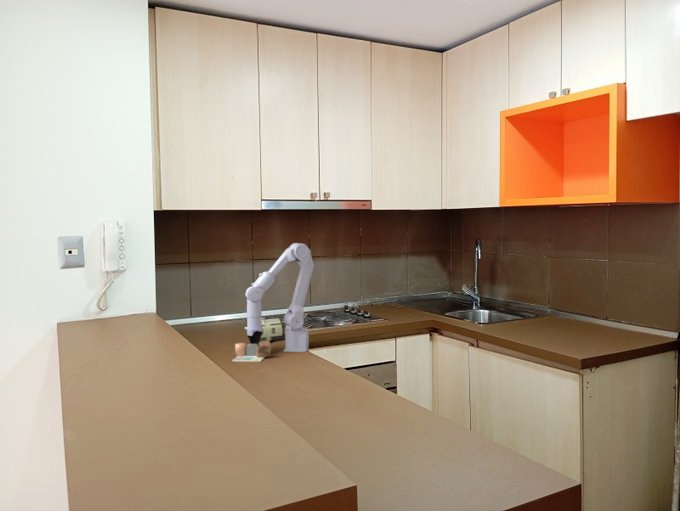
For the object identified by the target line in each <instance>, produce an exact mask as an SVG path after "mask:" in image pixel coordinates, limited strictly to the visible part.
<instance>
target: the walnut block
mask: <svg viewBox="0 0 680 511" xmlns="http://www.w3.org/2000/svg"><path fill="white" fill-rule="evenodd" d="M271 349H272V348H271V344H270V345H262V346H256V356H257V357H258V358H260V357H265V358H268V357H271V356H272V352H271Z"/></svg>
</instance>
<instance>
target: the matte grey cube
mask: <svg viewBox="0 0 680 511" xmlns="http://www.w3.org/2000/svg"><path fill="white" fill-rule="evenodd" d="M256 346H259V344H251V343H248V344H246V356H256Z"/></svg>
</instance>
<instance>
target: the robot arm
mask: <svg viewBox="0 0 680 511" xmlns="http://www.w3.org/2000/svg"><path fill="white" fill-rule="evenodd" d="M294 261H296V263H297V264H298V265H299V267H300V268H299V272H298V277H297V280H296V284H295V288H294V291H293V295H292V300H291V303H290V305H288V306H289V307H288V309H287V311H286V313H285V314H284V316H283V323H284V325H286V326H284V328H285V336H284V339H285V340H284V341H285V344H284V345H285V348H284V349H282V352H283V351H284V352H288V353H290V352H293V353H295V352H296V353H297V352H298V353H303V352H304V353H306V352H307V350H309V347H310V346H309V345H310V343H309V341H310V340H309V338H310V337H309V336H310V335H309V329H308V328H304V327H303V326H304V323H305V319H304V315H305V314H304V313H305V309H304V306H305V301H306V298H307V294H308V290H309V287H310V281H311V279H312V274H313V271H314V266H315V265H314V261H313V258H312V251H311V249H310V248H309V247H308V245H307V244H306V243H299V242H293V243H292V244H290V245H289V247H287V248H286V249H285V250H284V251H283V253H282V254H281V255H280V256H279V258H278V259H277V260H276V261H275V262H274V263H273V265H272V266H271V267H270V268H269V270H268V271H263V272H260V273H259V274H258V276H259V277H258V278H257V279H256V280H255V281H254V282H252V283H251V286H249V287H248V288H246V291H245V297H246V319H247V322H246V324H247V326H245V327H244V330H246V337H247V339H248V338H249V340H250V342H249V344H259V341H260V339H261V336H262V334H263V332H262V331H259V330H262V320H263V318H262V316H263V315H262V314H263V313H262V299H263V297H264V293H266V292H267V290H268V289H269V288H270V287H271V286H272V285H273V284H274V282H275V281H276V280H275V276H277V274H278V273H279V272H280V271H281V270H282V269H283V268H284V267H285V266H286V265H287V264H288V263H289V262H294ZM249 340H248V341H249Z"/></svg>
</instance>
